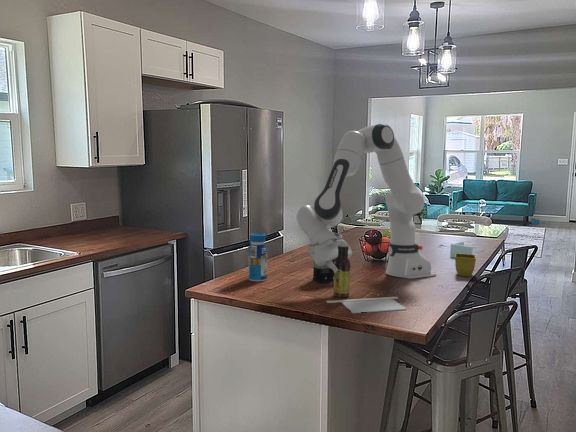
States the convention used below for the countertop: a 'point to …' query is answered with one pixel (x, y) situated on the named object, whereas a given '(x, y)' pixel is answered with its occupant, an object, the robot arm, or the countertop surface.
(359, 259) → the countertop surface
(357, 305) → the mat
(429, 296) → the countertop surface
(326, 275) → the milk frother
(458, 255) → the flower pot
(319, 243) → the robot arm
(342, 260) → the sauce bottle
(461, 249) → the right angle wall
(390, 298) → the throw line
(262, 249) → the beverage bottle
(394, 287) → the countertop surface
